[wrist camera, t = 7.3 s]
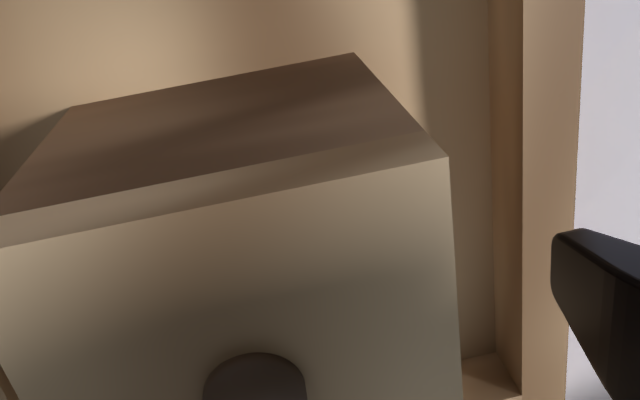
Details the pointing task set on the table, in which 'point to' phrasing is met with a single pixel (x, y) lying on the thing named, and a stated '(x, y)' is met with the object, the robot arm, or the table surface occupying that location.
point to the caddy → (404, 84)
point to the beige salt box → (233, 246)
